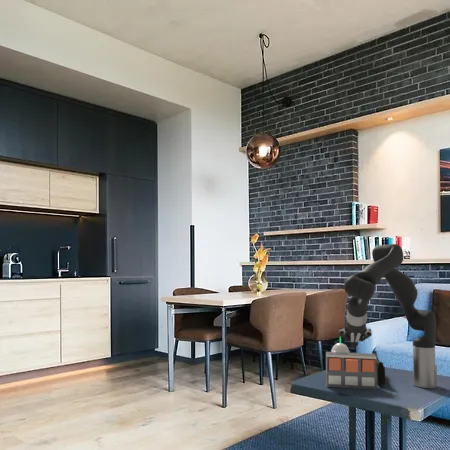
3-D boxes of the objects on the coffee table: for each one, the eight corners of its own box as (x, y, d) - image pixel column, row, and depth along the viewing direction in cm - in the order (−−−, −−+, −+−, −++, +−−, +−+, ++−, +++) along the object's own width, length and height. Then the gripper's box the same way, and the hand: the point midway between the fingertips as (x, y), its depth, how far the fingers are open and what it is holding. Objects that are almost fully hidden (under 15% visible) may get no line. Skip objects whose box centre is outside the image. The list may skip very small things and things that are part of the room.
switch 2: (356, 369, 212) (356, 358, 213) (358, 372, 208) (357, 360, 208) (345, 369, 213) (345, 357, 214) (345, 371, 208) (345, 359, 209)
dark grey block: (374, 386, 215) (374, 353, 216) (376, 389, 208) (376, 356, 210) (326, 383, 218) (325, 351, 219) (326, 387, 212) (326, 354, 213)
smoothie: (348, 379, 226) (348, 335, 228) (351, 384, 218) (351, 338, 219) (330, 379, 227) (330, 335, 228) (332, 383, 219) (332, 338, 220)
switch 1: (340, 368, 216) (340, 356, 216) (340, 370, 211) (340, 358, 211) (328, 367, 216) (328, 356, 217) (329, 370, 211) (328, 358, 212)
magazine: (386, 368, 210) (377, 337, 239) (378, 367, 211) (370, 337, 240) (385, 403, 214) (376, 369, 243) (377, 403, 214) (370, 369, 243)
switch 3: (372, 369, 213) (372, 358, 214) (374, 372, 208) (374, 360, 209) (361, 369, 214) (361, 357, 214) (362, 371, 209) (362, 359, 210)
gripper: (373, 310, 188) (370, 338, 199) (338, 309, 190) (336, 337, 201) (375, 326, 182) (371, 354, 193) (339, 325, 185) (337, 352, 196)
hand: (353, 345), depth 197 cm, fingers closed
